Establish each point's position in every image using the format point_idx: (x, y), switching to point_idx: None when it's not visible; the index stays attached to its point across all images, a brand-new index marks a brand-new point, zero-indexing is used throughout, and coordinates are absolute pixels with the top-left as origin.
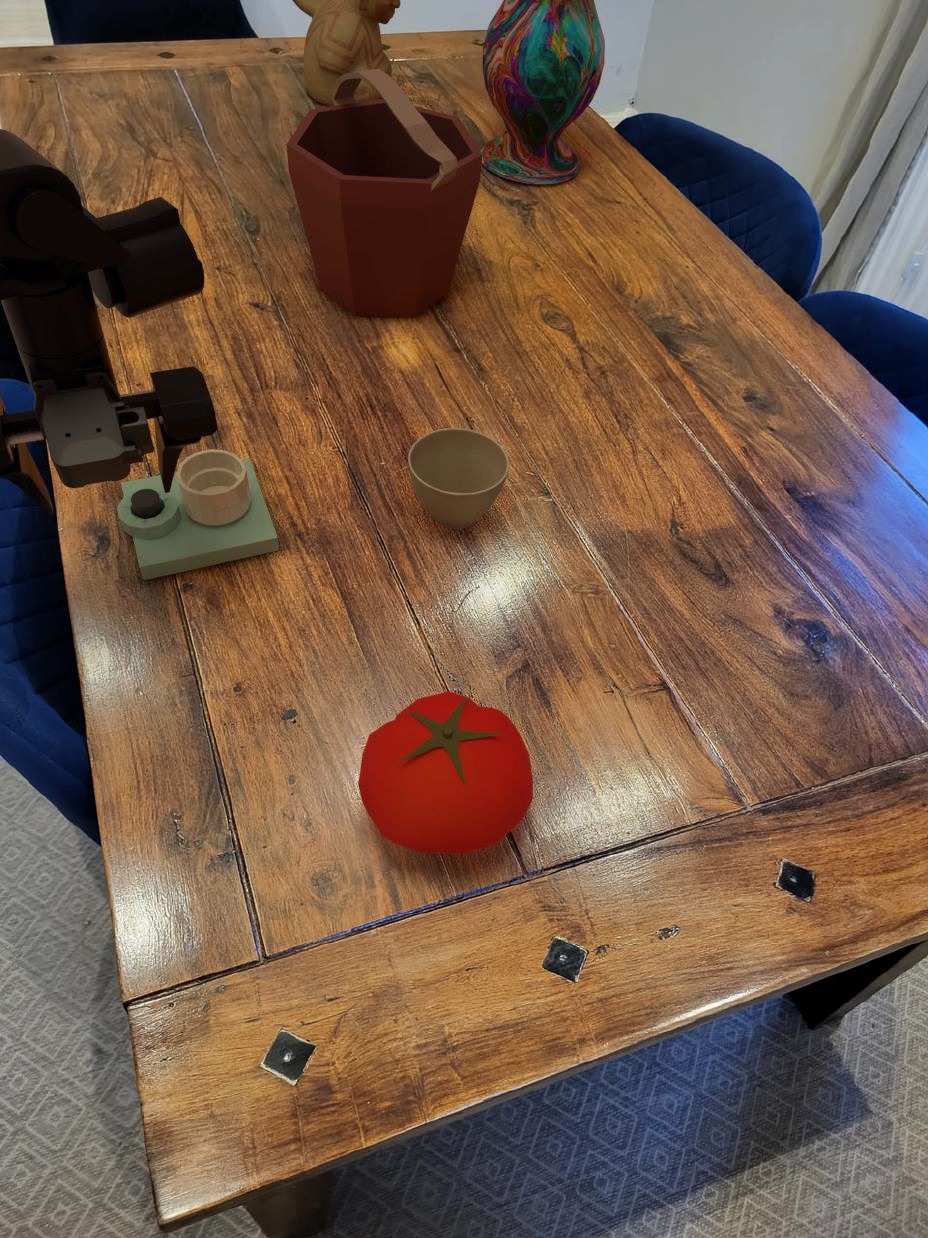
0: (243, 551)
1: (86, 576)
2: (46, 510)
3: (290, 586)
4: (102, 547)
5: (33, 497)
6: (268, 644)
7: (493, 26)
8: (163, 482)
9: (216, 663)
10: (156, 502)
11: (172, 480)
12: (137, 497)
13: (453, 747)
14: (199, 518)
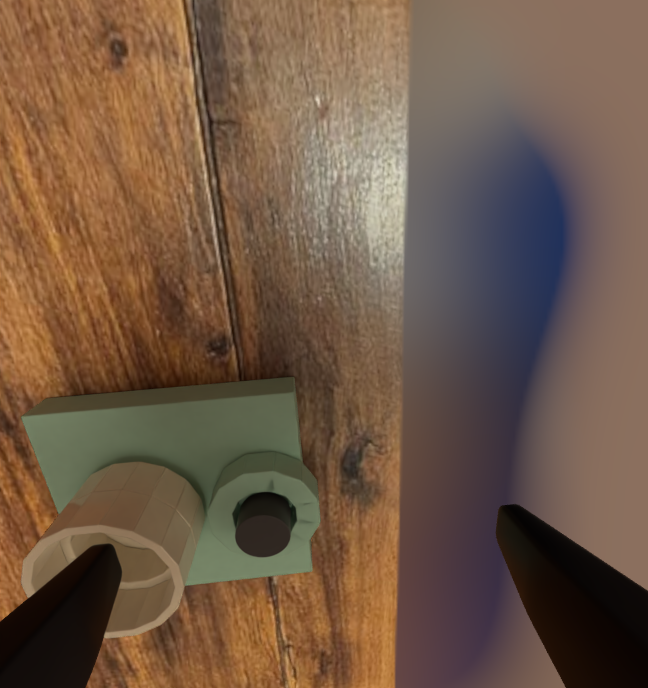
0: (103, 400)
1: (384, 402)
2: (535, 520)
3: (17, 307)
4: (354, 455)
5: (637, 592)
6: (54, 162)
7: None
8: (64, 597)
9: (165, 139)
10: (240, 523)
11: (22, 603)
12: (277, 539)
13: None
14: (169, 479)
